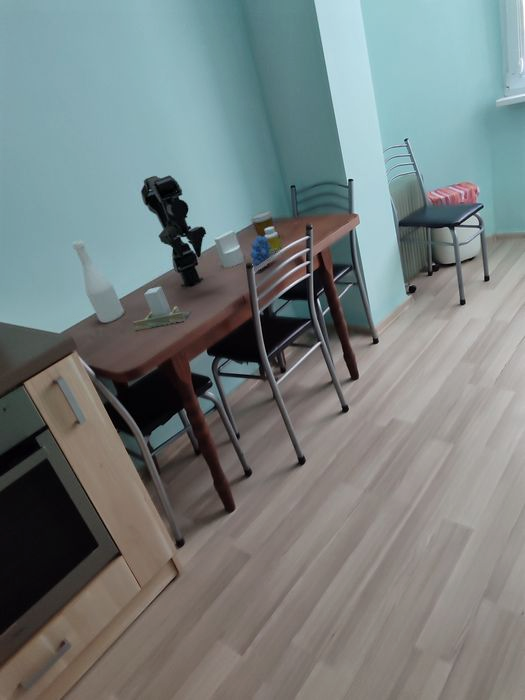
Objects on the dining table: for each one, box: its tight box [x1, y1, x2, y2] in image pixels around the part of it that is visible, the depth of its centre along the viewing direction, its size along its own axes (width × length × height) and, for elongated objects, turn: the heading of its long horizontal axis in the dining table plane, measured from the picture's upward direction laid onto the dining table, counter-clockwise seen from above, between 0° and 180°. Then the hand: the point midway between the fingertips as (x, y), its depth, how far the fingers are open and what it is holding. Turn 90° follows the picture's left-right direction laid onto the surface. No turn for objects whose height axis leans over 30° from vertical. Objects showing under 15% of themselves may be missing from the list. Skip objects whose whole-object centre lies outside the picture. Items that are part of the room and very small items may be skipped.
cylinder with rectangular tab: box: [214, 230, 245, 268], centre depth 196 cm, size 9×9×12 cm
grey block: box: [143, 286, 172, 317], centre depth 161 cm, size 4×4×11 cm
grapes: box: [249, 235, 272, 271], centre depth 180 cm, size 12×7×12 cm, turn 144°
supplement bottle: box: [264, 226, 282, 255], centre depth 194 cm, size 5×5×10 cm
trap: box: [132, 305, 192, 331], centre depth 162 cm, size 7×18×3 cm, turn 79°
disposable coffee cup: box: [250, 210, 274, 237], centre depth 210 cm, size 10×10×12 cm
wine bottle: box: [72, 239, 125, 324], centre depth 175 cm, size 10×10×30 cm
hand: (190, 257), depth 174 cm, fingers open, 9 cm apart
